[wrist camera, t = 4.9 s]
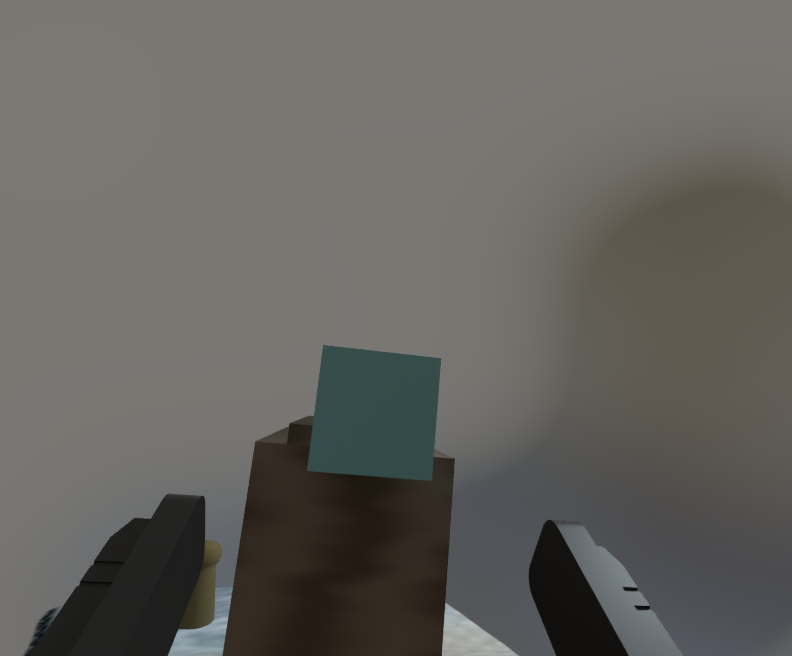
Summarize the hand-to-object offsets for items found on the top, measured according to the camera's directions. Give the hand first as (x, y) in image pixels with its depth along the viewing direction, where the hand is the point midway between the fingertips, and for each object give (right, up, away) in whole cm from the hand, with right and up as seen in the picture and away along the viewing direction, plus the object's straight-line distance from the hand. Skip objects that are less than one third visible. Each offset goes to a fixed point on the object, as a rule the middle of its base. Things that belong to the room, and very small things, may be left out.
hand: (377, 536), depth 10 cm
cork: (-31, -40, +56) cm, 75 cm away
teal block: (-2, -2, +15) cm, 16 cm away
